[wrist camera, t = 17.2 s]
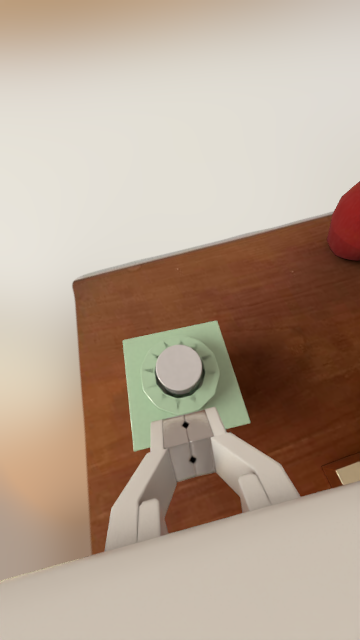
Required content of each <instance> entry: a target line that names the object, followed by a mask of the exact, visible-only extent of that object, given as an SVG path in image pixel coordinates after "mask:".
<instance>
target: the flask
mask: <svg viewBox="0 0 360 640" xmlns="http://www.w3.org/2000/svg"><path fill="white" fill-rule="evenodd" d="M173 345H186V346H188V347H190V348H192V349H194V350H195V351H196V352H197V353H198V355H199V357H200V359H201V361H202V373H201V378H200V381H199V383H198V385H197V386H196V387H195V389H193V390H192V391H191V392H189V393H186V394H173V393H171V392H169V391H167V390H166V389H165V388H164V387H163V385H162V384H161V382H160V380H159V379H158V376H157V373H156V362H157V359H158V357H159V355H160V354H161V353H162V352H163V351H164V350H165V349H166V348H168V347H170V346H173ZM123 349H124V359H125V369H126V379H127V388H128V398H129V408H130V418H131V428H132V438H133V448H134V451H139V450H143V449H147V448H151V422H153V421H157V420H162V419H166V418H170V417H175V416H179V415H184V414H188V413H192V412H196V411H200V410H205V409H207V408H211V407H216V409H217V411H218V413H219V416H220V418H221V420H222V422H223V425H224V427H225V429H229V428H233V427H237V426H241V425H245V424H249V423H251V422H250V419H249V416H248V413H247V410H246V407H245V404H244V401H243V397H242V394H241V391H240V388H239V385H238V382H237V379H236V376H235V373H234V370H233V367H232V364H231V361H230V358H229V355H228V352H227V349H226V346H225V343H224V340H223V337H222V334H221V331H220V328H219V325H218V322H217V321H212V322H207V323H202V324H198V325H193V326H188V327H184V328H179V329H174V330H169V331H165V332H160V333H155V334H150V335H146V336H141V337H136V338H131V339H127V340H123Z"/></svg>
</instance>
